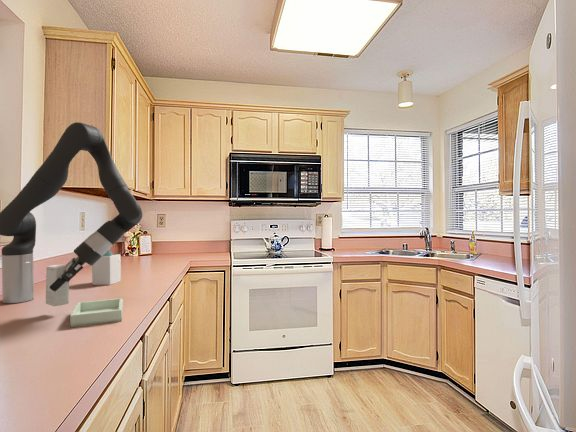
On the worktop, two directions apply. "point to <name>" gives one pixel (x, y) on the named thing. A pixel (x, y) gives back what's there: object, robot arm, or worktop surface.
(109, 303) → the tray
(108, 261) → the soap bottle
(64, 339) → the worktop surface
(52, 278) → the skincare box
